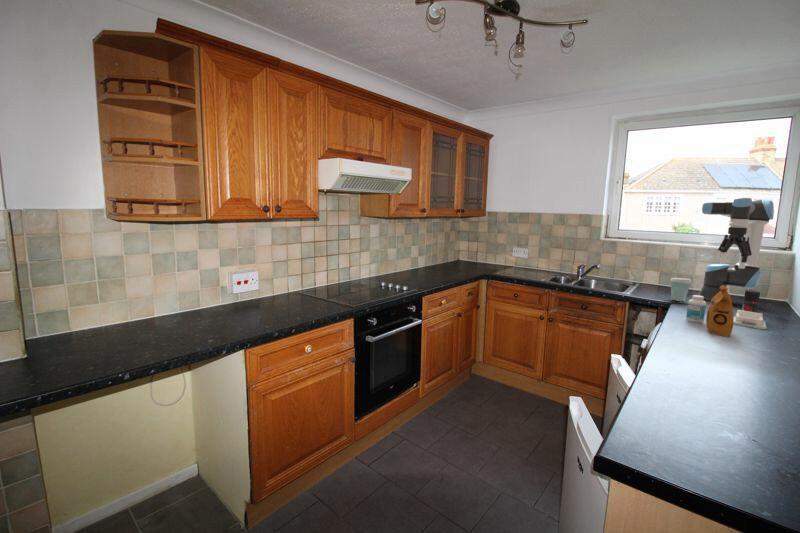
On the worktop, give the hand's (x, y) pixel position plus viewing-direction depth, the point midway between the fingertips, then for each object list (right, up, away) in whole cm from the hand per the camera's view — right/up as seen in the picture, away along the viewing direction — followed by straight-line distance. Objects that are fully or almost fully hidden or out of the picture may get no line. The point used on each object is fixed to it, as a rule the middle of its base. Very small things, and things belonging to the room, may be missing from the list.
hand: (731, 266), depth 208 cm
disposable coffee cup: (-4, -22, +34) cm, 41 cm away
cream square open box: (-1, -30, -11) cm, 32 cm away
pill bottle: (-27, -29, -8) cm, 40 cm away
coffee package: (-29, -32, -26) cm, 50 cm away
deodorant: (+8, -28, 0) cm, 30 cm away
